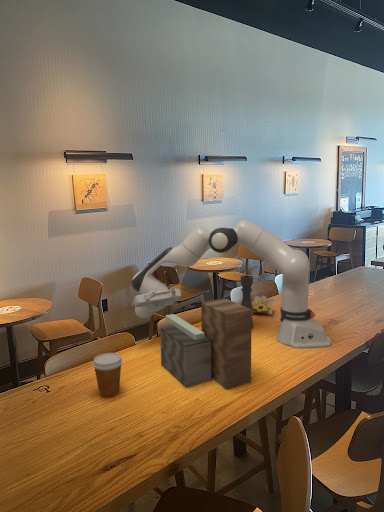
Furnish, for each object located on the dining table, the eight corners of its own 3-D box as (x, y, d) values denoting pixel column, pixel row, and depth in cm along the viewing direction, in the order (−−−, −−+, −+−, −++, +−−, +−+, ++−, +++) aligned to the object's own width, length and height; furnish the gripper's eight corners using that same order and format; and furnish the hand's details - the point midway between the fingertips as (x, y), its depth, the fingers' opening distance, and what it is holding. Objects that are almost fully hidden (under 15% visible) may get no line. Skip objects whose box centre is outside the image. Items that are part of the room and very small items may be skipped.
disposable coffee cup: (111, 382, 133) (109, 349, 131) (129, 391, 127) (128, 357, 125) (88, 393, 126) (86, 359, 124) (106, 403, 120) (104, 367, 118)
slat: (165, 320, 151) (165, 315, 151) (173, 318, 153) (173, 313, 152) (195, 340, 130) (195, 334, 130) (204, 338, 132) (204, 332, 132)
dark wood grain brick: (161, 365, 146) (160, 327, 143) (184, 359, 151) (183, 322, 148) (186, 387, 129) (185, 345, 126) (211, 380, 133) (211, 339, 131)
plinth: (202, 370, 141) (201, 302, 136) (224, 364, 145) (224, 298, 141) (226, 389, 127) (226, 314, 123) (250, 382, 132) (251, 309, 127)
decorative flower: (242, 312, 201) (244, 293, 202) (246, 311, 212) (248, 293, 212) (271, 317, 196) (273, 297, 197) (273, 315, 207) (276, 297, 207)
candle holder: (242, 330, 180) (243, 278, 176) (237, 326, 186) (238, 275, 182) (255, 329, 182) (255, 277, 178) (249, 324, 188) (250, 274, 184)
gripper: (128, 298, 162) (137, 288, 150) (171, 291, 172) (183, 281, 160) (131, 313, 160) (141, 303, 149) (175, 304, 170) (187, 295, 158)
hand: (163, 292), depth 155 cm, fingers open, 8 cm apart
